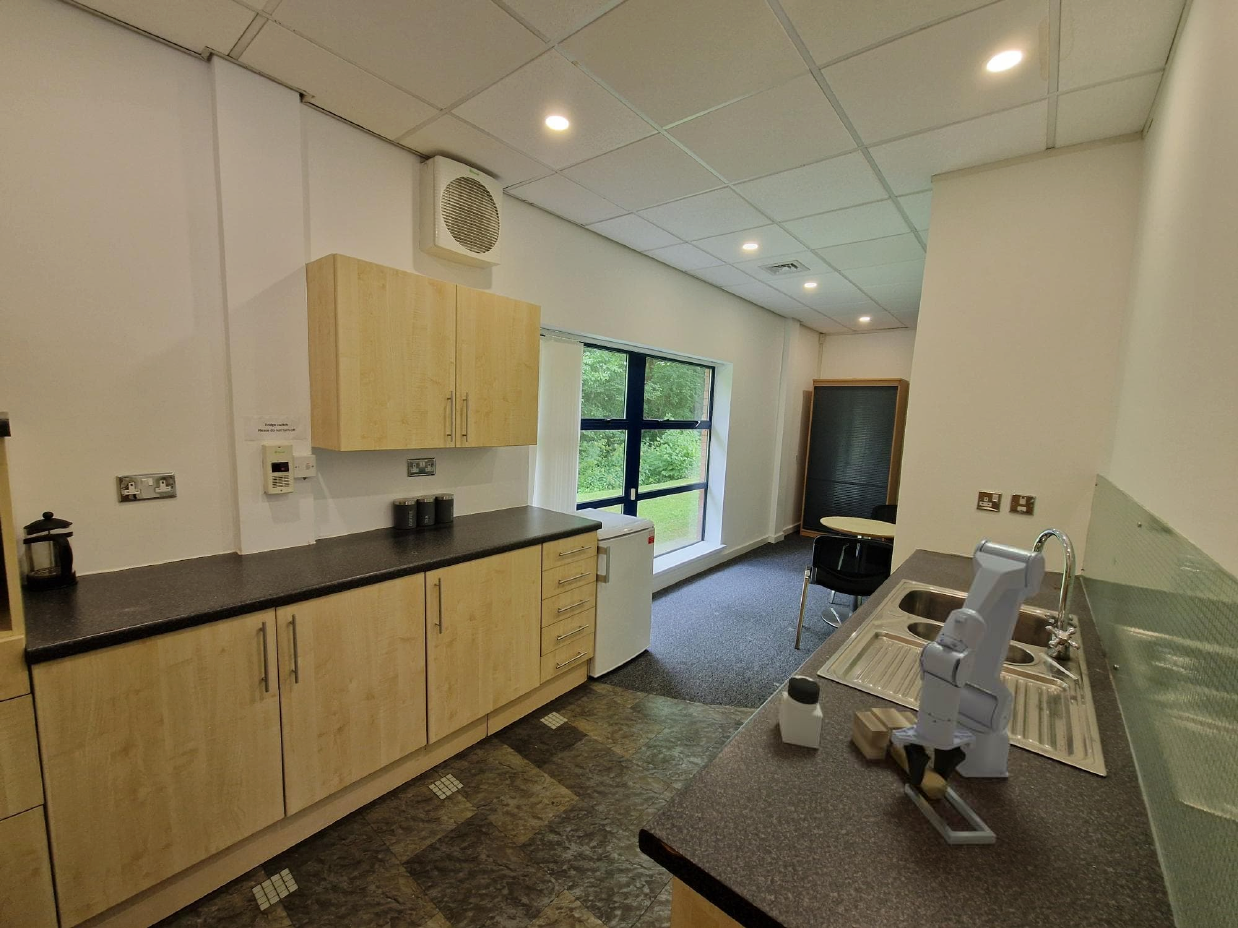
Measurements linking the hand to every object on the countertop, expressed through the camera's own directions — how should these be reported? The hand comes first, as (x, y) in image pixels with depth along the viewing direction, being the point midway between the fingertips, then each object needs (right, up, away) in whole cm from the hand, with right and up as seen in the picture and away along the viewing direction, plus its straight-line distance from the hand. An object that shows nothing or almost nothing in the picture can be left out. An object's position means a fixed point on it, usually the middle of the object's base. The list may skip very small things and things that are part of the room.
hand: (926, 781), depth 89 cm
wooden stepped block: (-1, -1, +11) cm, 11 cm away
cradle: (0, -3, -5) cm, 5 cm away
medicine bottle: (-18, +1, +14) cm, 23 cm away
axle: (0, -1, +3) cm, 3 cm away
